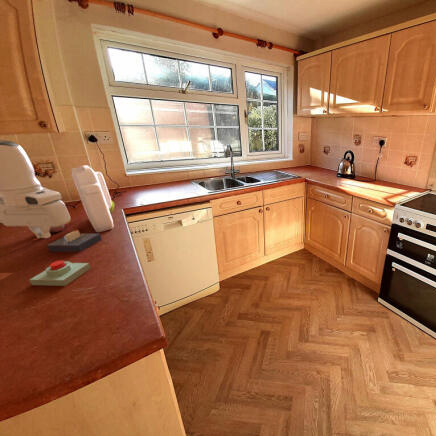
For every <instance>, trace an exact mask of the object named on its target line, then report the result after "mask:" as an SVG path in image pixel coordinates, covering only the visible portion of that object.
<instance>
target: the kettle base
mask: <svg viewBox="0 0 436 436" xmlns="http://www.w3.org/2000/svg"><path fill="white" fill-rule="evenodd" d="M64 263H65V265H66V266H64V267H63V268H60V269H57V270H52V269H51V267H50V266H48V267H46V268H45V270H43V271H42V272H40V273H39V274H36V275H35V276H33V277H32V278H30V279H29V282H30V284H31V286H57V287H59V286H61V287H66V286H68V285H69V284H70V283H72V282H74V281H75V280H76V279H78V278H79V277H80V276H82V275H84V274H85V273H86V272H88V271H89V270H91V269H92V267H91V265H90V263H89V262H71V261H68V260H67V261H65V260H64Z"/></svg>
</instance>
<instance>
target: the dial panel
mask: <svg viewBox="0 0 436 436" xmlns="http://www.w3.org/2000/svg"><path fill="white" fill-rule="evenodd" d="M80 236H81V237H79V238H77V239H75V240H73V241H71V242H67V239H66V237H65V236H63V237H61V238H59V239H57V240H54V241H53V242H51V243H48V244H47V245H46V246H47V249H48V251H49V252H51V253H52V252H53V253H55V252H56V253H57V252H59V253H61V252H67V253H68V252H69V253H70V252H71V253H79V252H81V253H82V252H83V251H84V250H87V249H88V248H90V247H91V246H94V245H95V244H97V243H98V242H100V241H102V239H103V238H102V236H101V234H100V233H80Z"/></svg>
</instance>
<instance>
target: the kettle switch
mask: <svg viewBox="0 0 436 436" xmlns="http://www.w3.org/2000/svg"><path fill="white" fill-rule="evenodd" d="M64 262H65V260H61V259H60V260H56V261H53V262H52V263H50V264H49V267H51V269H52V270H57V269H60V268H63V267H64V266H66V265H65V263H64Z"/></svg>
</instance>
